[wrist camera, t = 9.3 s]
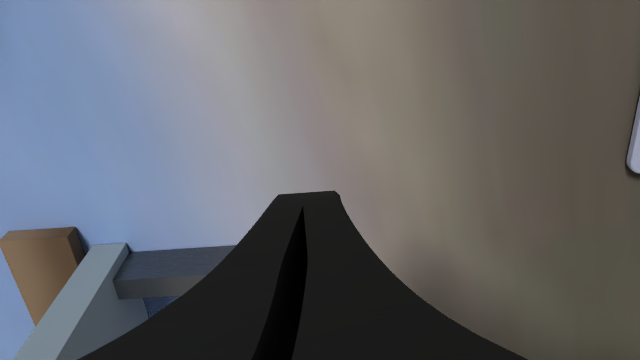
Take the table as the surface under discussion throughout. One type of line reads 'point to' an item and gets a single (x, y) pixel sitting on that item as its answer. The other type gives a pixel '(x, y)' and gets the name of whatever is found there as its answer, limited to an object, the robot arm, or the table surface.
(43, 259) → the threshold strip
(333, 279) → the robot arm
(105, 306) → the door panel
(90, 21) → the table surface
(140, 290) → the keeper cleats
